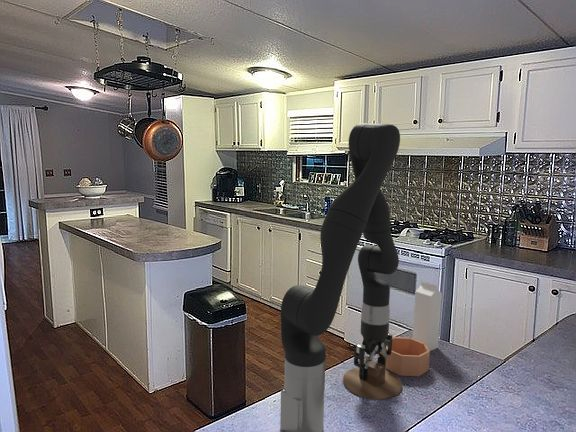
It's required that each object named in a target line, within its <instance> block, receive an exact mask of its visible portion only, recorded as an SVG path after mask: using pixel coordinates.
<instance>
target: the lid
mask: <svg viewBox="0 0 576 432" xmlns="http://www.w3.org/2000/svg"><path fill="white" fill-rule="evenodd" d="M365 362H366V359H364V363H365ZM385 368H386V366H384V365H382V364H380V363H378V362H377V361H376V360H372V361H370V363H369V365H368V379H367V381H363V380H361V379H360V378H359V367H357V366H356V367H354V368H351V369H349V370H347V371H346V372H345V373H344V375H343V377H342V382H343V383H342V384H343V385H344V387H345V389H347V390H348V391H349V392H350V393H352V394H354V395H356V396H358V397H360V398H364V399H368V400H380V401H381V400H389V399H392V398H394V397H396V396H398V395H399V394H400V393H401V392H402V389H403V383H402V381H401V379H400V378H399V376H397V374H396V373H394V372H392V371H390V370H388V369H385Z"/></svg>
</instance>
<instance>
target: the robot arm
mask: <svg viewBox="0 0 576 432" xmlns="http://www.w3.org/2000/svg"><path fill="white" fill-rule="evenodd" d="M400 143H401V132H400V129H399V128H398V127H397V126H396V125H394V124H391V123H377V122H376V123H369V122H367V123H366V122H362V123H357V124H355V125H354V126H353V127H352V129H351V131H350V133H349V136H348V150H349V152H348V153H349V157H350V161H351V166H352V170H353V171H352V172H353V175H354V178H355V180H354V181H353V182H352V183H351V184H349V185H348V186H347V187H346V188H345V189H343V190H342V192H340V193H339V194H338V195H337V196H336V197H335V198H334V200H332V202H331V203H330V205H329V208H328V210H327V212H326V215H325V217H324V220H323V221H322V225H321V228H320V233H319V234H320V238H319V239H320V249H321V257H322V261H321V262H322V265H321V270H320V274H319V277H318V280H317V283H316V284H315V287H314V288H311V287H309V286H305V285H301V284H296V285H293V286H292V287H290V288H289V289H288V290H287V291H285V294H284V295H283V297H282V300H281V306H280V333H281V334H280V336H281V338H280V340H281V346H282V347H283V351H284V377H283V378H284V381H283V382H284V383H283V384H284V387H283V389H281V390H280V414H279V415H280V417H279V419H280V422H279V424H280V429H281V430H282V431H283V432H323V431H324V425H325V424H324V421H325V418H324V417H325V390H326V389H325V388H326V387H325V383H326V358H327V353H326V352H327V351H326V350H327V349H326V346H325V344H324V343H323V341H322V340H321V339H320V338H319V336H321V335H323V334H324V333H326V332H327V330H328V329H329V328H330V327H331V326H332V323H333V320H334V318H335V316H336V312H337V309H338V306H339V302H340V299H341V297H342V295H341V294H342V292H343V288H344V285H345V281H346V278H347V275H348V272H349V269H350V267H351V264H352V261H353V258H354V255H355V252H356V249H357V247H358V245H359V243H360V241H361V239H362V236H363V237H364V240H366V241H368V242H370V243H373V244H375V245H371V244H366V245H363V246H362V247H361V248H360V250H359V252H358V256H357V265H358V268H359V272H360V276H361V281H362V287H363V290H362V305H361V313H360V315H361V316H360V334H361V336H362V337H363V339H362V343H361V344H357V343H356V344H355V345H354V346H353V347H354V348H353V349H354V350H353V352H354V353H353V365H354V366H356V368H357V367H359V378H360V379H361V380H363V381H367V379H368V365H369V363H370V361H372V360H373V359H374V357H375V356H376V355H377V356H378V357H377V361H376V362H378V363H380V364H382V365H384V366H385V365H386V364H385V363H386V359H387V357H388V355H391V352H392V338H393V337H394V336H393V335H392V334H390V333H389V331H390V313H391V312H390V296H391V295H390V294H391V286H390V284H389V282H387V281H385V280H383V279H381V278H379V277H377V275H376V274H377V273H378V274H382V275H392V274H394V273H395V272H396V271H397V269H398V267H399V263H400V258H399V253H398V251H397V247H396V245H395V242H394V239H393V235H392V231H391V212H390V207H389V203H388V202H387V199H386V197H385V195H384V193H383V192H382V190H381V187H382V185H383V184H384V182H385V179H386V177H387V176H388V173H389V171H390V169H391V167H392V166H393V164H394V161H395V160H396V158H397V154H398V152H399V148H400V145H401V144H400ZM386 346H387V347H388V350H387V349H386ZM367 355H368V356H367ZM365 359H366V362H365V363H364V360H365ZM373 361H374V360H373Z"/></svg>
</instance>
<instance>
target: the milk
mask: <svg viewBox="0 0 576 432" xmlns="http://www.w3.org/2000/svg"><path fill="white" fill-rule="evenodd" d="M442 295H443V294H442V292H441V291H440V290H438V285H437V284H435V283H431V282H427V281H424V280H421V284H420V286H419V287H417V289H416V290H415V294H414V307H413V308H414V309H413V310H414V311H413V325H412V326H413V327H412V339H415V340H417V341H420V342H422V343H425V344H426V346H427V347H428V349H429V351H430V352H431V351H433V350H436V349H438V348H439V338H440V337H439V336H440V325H441V309H442V298H443V297H442Z"/></svg>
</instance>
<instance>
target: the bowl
mask: <svg viewBox="0 0 576 432" xmlns="http://www.w3.org/2000/svg"><path fill="white" fill-rule="evenodd" d="M386 349H387V350H388V347H387V346H386ZM430 353H431V351H429V349H428V347H427V346H426V344H425V343H422V342H420V341H417V340H415V339H413V337H395V336H393V337H392V352H391V355H388V357H387V359H386V363H385V364H386V365H385V366H386V368H385V370H387V371H389V372H391V373H393V374H395V375H398V376H404V377H405V376H406V377H408V376H409V377H420V376H422V375H424V374H425V373H426V372H428V371H429V370H430V368H429V367H430Z"/></svg>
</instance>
